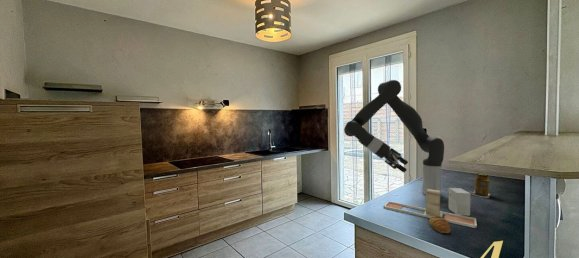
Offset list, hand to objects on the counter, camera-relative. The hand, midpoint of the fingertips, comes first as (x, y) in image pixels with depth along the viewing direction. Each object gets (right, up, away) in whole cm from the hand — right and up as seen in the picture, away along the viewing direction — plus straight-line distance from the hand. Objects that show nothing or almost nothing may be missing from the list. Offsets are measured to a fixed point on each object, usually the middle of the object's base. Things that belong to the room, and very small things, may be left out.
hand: (406, 167), depth 114 cm
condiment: (+52, -19, +18) cm, 58 cm away
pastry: (+3, -22, -21) cm, 30 cm away
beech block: (+8, -20, -9) cm, 24 cm away
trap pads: (+6, -20, -8) cm, 23 cm away
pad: (+8, -21, -9) cm, 24 cm away
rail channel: (+6, -20, -8) cm, 23 cm away
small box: (+22, -20, -6) cm, 31 cm away
